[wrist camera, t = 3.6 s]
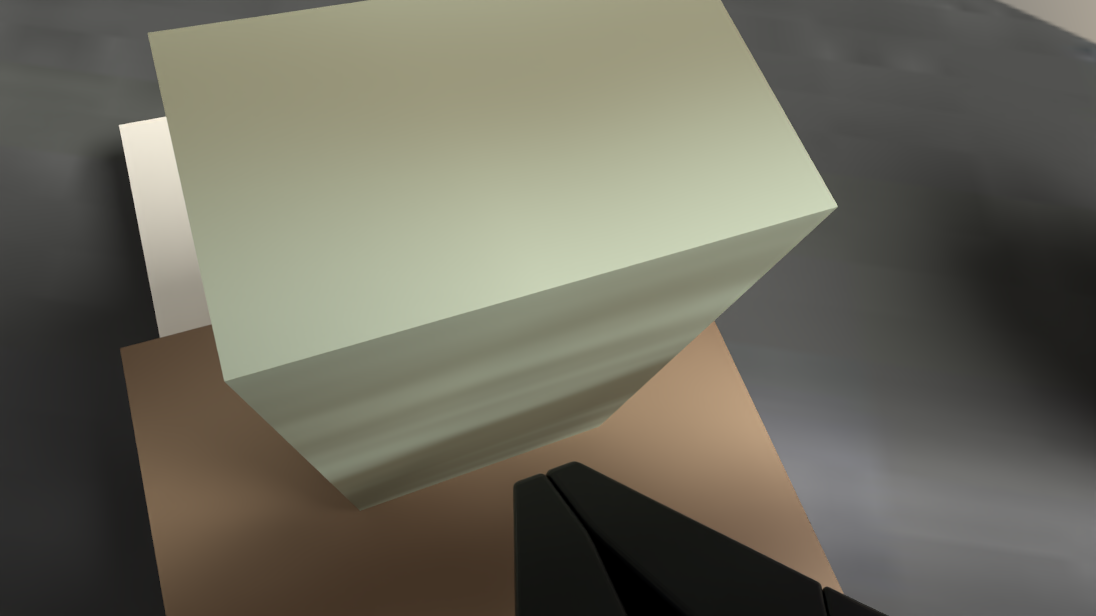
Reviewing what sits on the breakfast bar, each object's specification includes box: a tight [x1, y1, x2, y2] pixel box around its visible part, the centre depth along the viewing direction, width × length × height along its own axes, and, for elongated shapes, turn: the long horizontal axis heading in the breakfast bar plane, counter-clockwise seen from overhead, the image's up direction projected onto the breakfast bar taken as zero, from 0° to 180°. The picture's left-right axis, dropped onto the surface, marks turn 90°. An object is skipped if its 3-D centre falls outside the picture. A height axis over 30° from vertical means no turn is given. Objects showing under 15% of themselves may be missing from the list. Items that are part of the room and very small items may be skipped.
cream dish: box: [119, 117, 212, 338], centre depth 16 cm, size 11×11×2 cm
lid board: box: [120, 0, 843, 616], centre depth 9 cm, size 14×12×10 cm
